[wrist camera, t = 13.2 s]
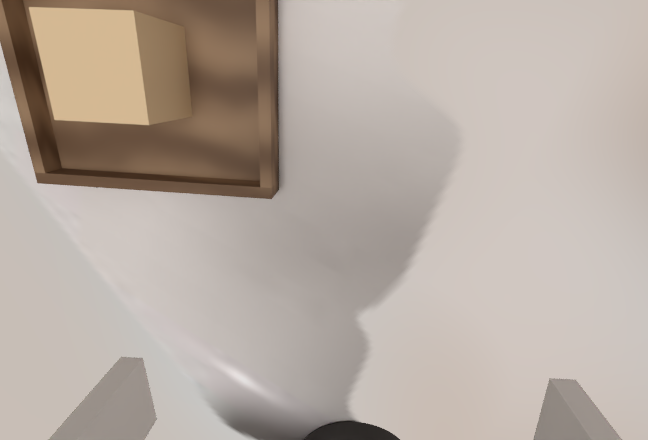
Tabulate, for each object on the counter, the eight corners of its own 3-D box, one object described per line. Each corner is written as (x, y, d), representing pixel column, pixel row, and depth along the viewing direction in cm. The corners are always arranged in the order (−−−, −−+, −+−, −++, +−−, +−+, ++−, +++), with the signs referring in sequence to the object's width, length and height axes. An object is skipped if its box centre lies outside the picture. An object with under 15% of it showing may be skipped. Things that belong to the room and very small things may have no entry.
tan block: (192, 116, 31) (149, 125, 25) (116, 112, 32) (54, 119, 25) (184, 26, 29) (133, 10, 22) (102, 23, 29) (28, 7, 23)
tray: (278, 189, 34) (271, 198, 31) (62, 175, 35) (37, 183, 33) (277, -65, 27) (268, -82, 24) (5, -70, 28) (-34, -87, 25)
